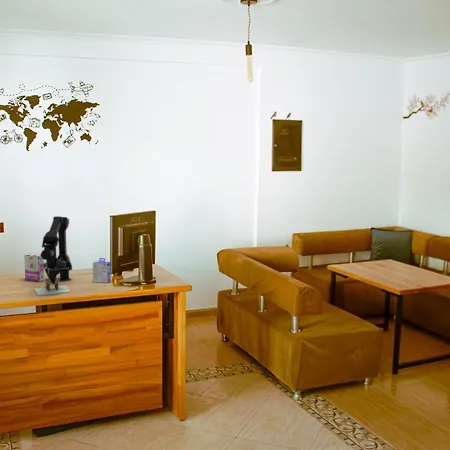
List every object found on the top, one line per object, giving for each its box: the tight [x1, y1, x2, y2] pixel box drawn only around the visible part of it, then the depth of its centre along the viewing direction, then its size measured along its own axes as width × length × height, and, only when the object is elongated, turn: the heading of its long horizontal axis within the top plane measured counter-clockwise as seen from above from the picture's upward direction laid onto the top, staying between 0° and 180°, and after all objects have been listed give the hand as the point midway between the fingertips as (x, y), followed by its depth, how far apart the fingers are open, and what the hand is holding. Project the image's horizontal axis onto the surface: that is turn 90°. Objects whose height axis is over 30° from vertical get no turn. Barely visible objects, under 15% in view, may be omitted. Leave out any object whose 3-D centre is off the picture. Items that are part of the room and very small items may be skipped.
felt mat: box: [33, 285, 72, 297], centre depth 342 cm, size 14×18×1 cm
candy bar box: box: [23, 253, 45, 283], centre depth 364 cm, size 11×5×16 cm, turn 68°
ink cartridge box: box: [92, 257, 112, 283], centre depth 364 cm, size 10×6×14 cm, turn 78°
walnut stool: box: [44, 277, 60, 291], centre depth 342 cm, size 6×6×6 cm
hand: (52, 282), depth 341 cm, fingers open, 8 cm apart
